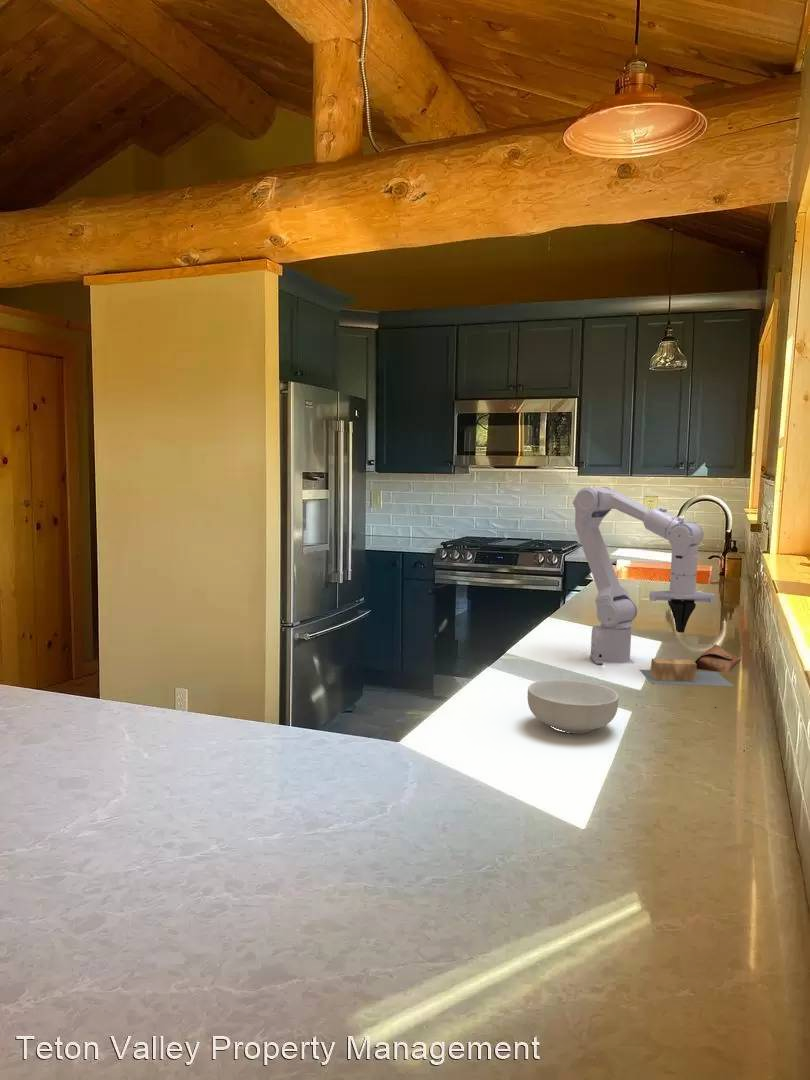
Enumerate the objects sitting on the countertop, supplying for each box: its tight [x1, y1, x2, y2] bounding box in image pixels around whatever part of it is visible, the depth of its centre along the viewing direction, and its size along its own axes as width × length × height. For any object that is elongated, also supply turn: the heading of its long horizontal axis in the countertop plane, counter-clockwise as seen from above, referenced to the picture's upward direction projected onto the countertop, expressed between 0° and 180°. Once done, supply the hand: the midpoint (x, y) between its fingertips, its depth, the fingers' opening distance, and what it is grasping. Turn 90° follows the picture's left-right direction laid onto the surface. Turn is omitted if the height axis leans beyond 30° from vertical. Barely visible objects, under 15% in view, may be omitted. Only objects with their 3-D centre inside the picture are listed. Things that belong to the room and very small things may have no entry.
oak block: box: [650, 658, 697, 681], centre depth 183 cm, size 4×4×9 cm
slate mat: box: [639, 669, 734, 687], centre depth 184 cm, size 18×12×1 cm, turn 87°
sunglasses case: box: [694, 644, 742, 673], centre depth 198 cm, size 18×7×7 cm, turn 148°
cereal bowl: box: [527, 679, 620, 735], centre depth 150 cm, size 17×17×7 cm
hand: (679, 631), depth 187 cm, fingers closed
